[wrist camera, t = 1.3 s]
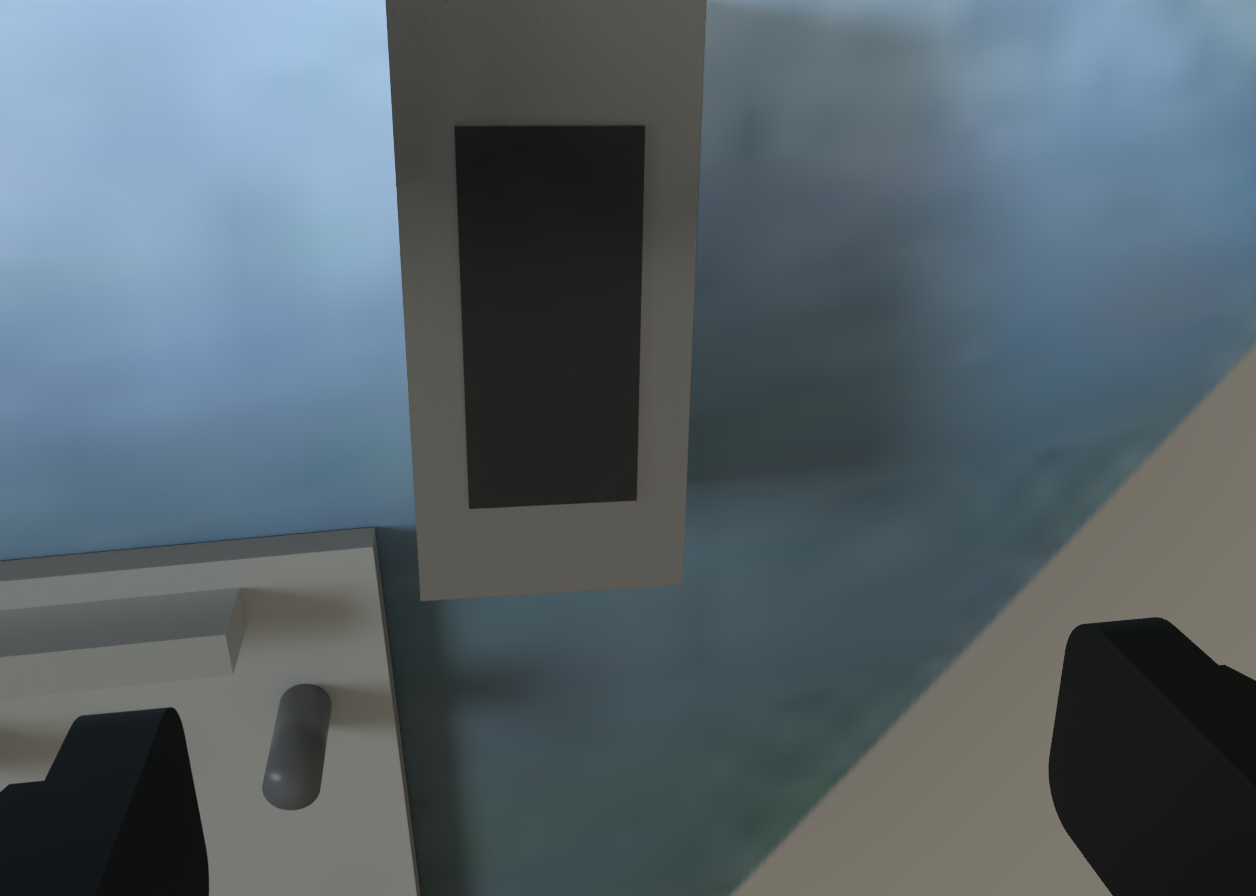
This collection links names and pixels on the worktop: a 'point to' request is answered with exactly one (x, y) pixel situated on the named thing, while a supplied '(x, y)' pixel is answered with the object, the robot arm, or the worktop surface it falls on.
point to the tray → (230, 696)
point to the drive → (547, 286)
